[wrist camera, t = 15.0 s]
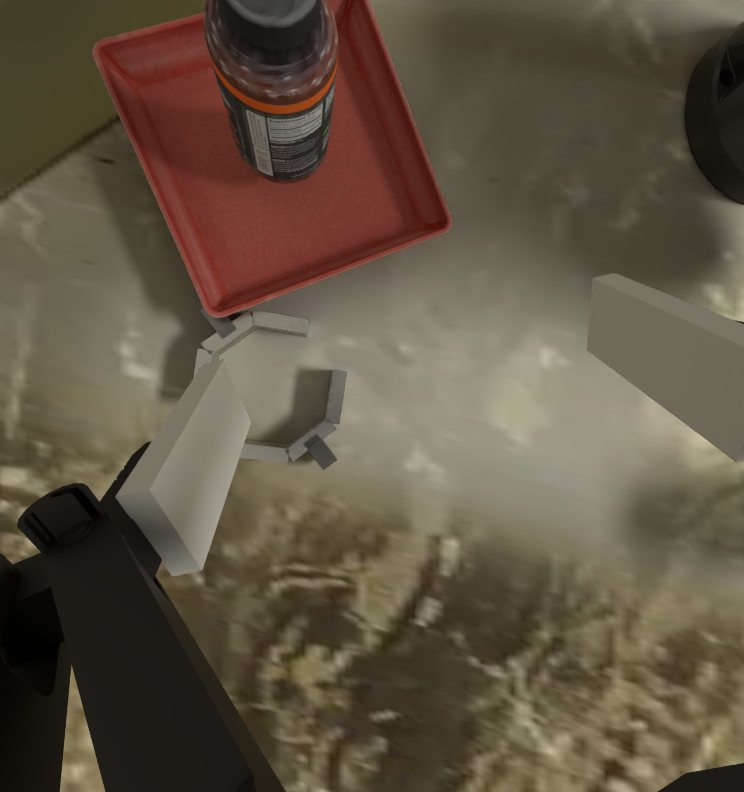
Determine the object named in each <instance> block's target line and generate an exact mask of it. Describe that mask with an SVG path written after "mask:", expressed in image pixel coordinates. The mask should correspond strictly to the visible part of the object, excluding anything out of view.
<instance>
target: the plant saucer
mask: <svg viewBox="0 0 744 792" xmlns="http://www.w3.org/2000/svg"><path fill="white" fill-rule="evenodd" d="M327 1H328V3H329V6H330V8H331V10H332V12H333V15H334V18H335V21H336V26H337V32H338V62H337V72H336V81H335V90H334V100H333V108H332V117H331V126H330V135H329V142H328V147H327V152H326V155H325V158H324V160H323V162H322V164H321V165H320V167H319V168H318V169H317V171H316V172H315V173H314V174H313V175H311V176H310V177H308V178H307V179H305V180H302V181H300V182H296V183H289V184H281V183H275V182H271V181H269V180H267V179H265V178H263V177H261V176H259V175H257V174H256V173H255V172H254V171H252V170H251V169H250V168H249V166H248V165H247V164H246V163H245V162H244V160H243V159H242V157H241V155H240V153H239V151H238V149H237V146H236V144H235V141H234V139H233V136H232V132H231V128H230V124H229V121H228V117H227V114H226V110H225V106H224V103H223V99H222V96H221V93H220V89H219V86H218V83H217V79H216V75H215V72H214V69H213V66H212V61H211V57H210V54H209V51H208V47H207V43H206V39H205V32H204V24H203V18H204V13H201V14H196V15H193V16H190V17H185V18H182V19H178V20H174V21H171V22H165V23H162V24H159V25H155V26H151V27H148V28H143V29H139V30H136V31H133V32H127V33H122V34H119V35H117V36H112V37H108V38H105V39H102V40H100V41H98V42H97V43H96V44H95V46H94V49H93V51H92V55H93V58H94V60H95V63H96V65H97V68H98V70H99V72H100V74H101V76H102V79H103V81H104V83H105V86H106V88H107V90H108V92H109V95H110V97H111V99H112V101H113V103H114V105H115V108H116V110H117V112H118V115H119V117H120V119H121V122H122V124H123V126H124V128H125V131H126V133H127V135H128V137H129V140H130V142H131V144H132V146H133V148H134V151H135V153H136V155H137V157H138V160H139V162H140V165H141V167H142V169H143V171H144V174H145V176H146V178H147V181H148V183H149V185H150V187H151V189H152V192H153V194H154V197H155V199H156V200H157V203H158V205H159V208H160V210H161V212H162V214H163V217H164V219H165V221H166V223H167V225H168V228H169V230H170V233H171V235H172V237H173V239H174V241H175V244H176V246H177V248H178V251H179V253H180V256H181V258H182V260H183V262H184V264H185V266H186V269H187V271H188V274H189V276H190V278H191V280H192V282H193V285H194V287H195V290H196V292H197V294H198V296H199V299H200V302H201V304H202V306H203V308H204V310H205V312H206V313H207V314H208V315H210V316H212V317H214V318H221V317H225V316H228V315H230V314H233V313H236V312H238V311H241V310H244V309H247V308H249V307H252V306H255V305H258V304H261V303H263V302H266V301H268V300H271V299H274V298H276V297H279V296H282V295H285V294H287V293H290V292H293V291H295V290H298V289H301V288H303V287H306V286H309V285H311V284H314V283H317V282H319V281H322V280H324V279H327V278H329V277H332V276H335V275H337V274H340V273H342V272H345V271H348V270H350V269H353V268H356V267H358V266H361V265H364V264H366V263H368V262H371V261H374V260H376V259H379V258H382V257H384V256H387V255H390V254H392V253H395V252H398V251H401V250H403V249H406V248H408V247H411V246H414V245H416V244H419V243H422V242H424V241H427V240H430V239H433V238H435V237H438V236H441V235H443V234H446V233H447V232H449V231H450V229H451V226H452V217H451V214H450V211H449V209H448V206H447V204H446V201H445V199H444V196H443V194H442V191H441V188H440V185H439V183H438V180H437V177H436V175H435V172H434V170H433V167H432V165H431V162H430V160H429V157H428V154H427V152H426V149H425V146H424V143H423V141H422V138H421V135H420V133H419V130H418V127H417V125H416V122H415V120H414V117H413V114H412V111H411V109H410V107H409V104H408V102H407V99H406V96H405V94H404V91H403V88H402V85H401V82H400V80H399V78H398V75H397V72H396V69H395V67H394V64H393V62H392V59H391V57H390V54H389V51H388V48H387V45H386V43H385V40H384V38H383V36H382V33H381V29H380V27H379V25H378V22H377V19H376V16H375V14H374V11H373V8H372V6H371V3H370V1H369V0H327Z"/></svg>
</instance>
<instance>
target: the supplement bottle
mask: <svg viewBox="0 0 744 792" xmlns="http://www.w3.org/2000/svg"><path fill="white" fill-rule="evenodd" d="M203 24H204V32H205V39H206V43H207V47H208V51H209V54H210V57H211V61H212V66H213V69H214V72H215V75H216V79H217V83H218V86H219V89H220V93H221V96H222V99H223V103H224V106H225V110H226V114H227V117H228V121H229V124H230V128H231V132H232V136H233V139H234V141H235V144H236V146H237V149H238V151H239V153H240V155H241V157H242V159H243V160H244V162H245V163H246V164H247V165H248V166H249V168H250V169H251V170H252V171H254V172H255V173H256V174H257V175H259V176H261V177H263V178H265V179H267V180H269V181H271V182H275V183H281V184H289V183H296V182H300V181H302V180H305V179H307V178H308V177H310V176H311V175H313V174H314V173H315V172H316V171H317V169H318V168H319V167H320V165H321V164H322V162H323V160H324V158H325V155H326V152H327V147H328V142H329V135H330V126H331V117H332V108H333V100H334V90H335V81H336V72H337V62H338V32H337V26H336V21H335V18H334V15H333V12H332V10H331V8H330V6H329V3H328V1H327V0H206V3H205V8H204V18H203Z"/></svg>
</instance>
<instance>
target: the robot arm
mask: <svg viewBox="0 0 744 792" xmlns="http://www.w3.org/2000/svg"><path fill="white" fill-rule="evenodd" d="M686 123H687V131H688V136H689V140H690V144H691V147H692V150H693V153H694V155H695V157H696V160H697V161H698V163H699V165H700V167H701V169H702V170H703V172H704V173H705V175H706V176H707V177H708V179H709V180H710V181H711V182H712V183H713V184H714V185H715V186H716V187H717V188H718V189H719V190H720V191H722V192H723V193H724V194H726V195H727V196H729V197H731V198H732V199H734V200H736V201H739V202H741V203H744V22H742V23H741V24H739V25H738V26H737V27H736V28H734V29H733V30H732V31H731V32H729V33H728V34H727V35H726V36H725V37H723V38H722V39H721V40H720V41H718V42H717V43H716V44H715V45H714V46H713V47H711V48H710V49H709V51H708V52H707V53H706V54H705V55H704V57H703V58H702V59H701V61H700V62H699V64H698V66H697V68H696V70H695V72H694V74H693V77H692V79H691V83H690V86H689V90H688V95H687V103H686ZM587 350H588V351H589V352H590V353H592V354H593V355H594V356H596V357H597V358H598V359H600V360H601V361H602V362H604V363H605V364H606V365H608V366H609V367H610V368H612V369H613V370H614V371H616V372H617V373H618V374H620V375H621V376H622V377H624V378H625V379H626V380H628V381H629V382H630V383H632V384H633V385H634V386H636V387H637V388H638V389H640V390H641V391H642V392H644V393H645V394H646V395H648V396H649V397H650V398H652V399H653V400H654V401H656V402H657V403H658V404H660V405H661V406H662V407H664V408H665V409H666V410H668V411H669V412H670V413H672V414H673V415H674V416H676V417H677V418H678V419H680V420H681V421H682V422H684V423H685V424H686V425H688V426H689V427H690V428H692V429H693V430H694V431H696V432H697V433H698V434H700V435H701V436H702V437H704V438H705V439H706V440H708V441H709V442H710V443H712V444H713V445H714V446H716V447H717V448H718V449H720V450H721V451H722V452H724V453H725V454H726V455H728V456H729V457H730V458H732V459H733V460H734V461H736V462H741V461H744V322H740V321H735V320H731V319H729V318H726V317H724V316H721V315H719V314H716V313H714V312H711V311H709V310H706V309H704V308H701V307H699V306H696V305H694V304H691V303H689V302H686V301H684V300H681V299H679V298H676V297H674V296H671V295H669V294H666V293H664V292H661V291H659V290H656V289H654V288H651V287H649V286H646V285H644V284H641V283H639V282H636V281H634V280H631V279H629V278H626V277H624V276H621V275H618V274H616V273H612V274H608V275H603V276H599V277H594V278H592V290H591V303H590V317H589V331H588V344H587ZM250 424H251V421H250V419H249V417H248V414H247V412H246V410H245V407H244V405H243V403H242V400H241V398H240V396H239V393H238V391H237V389H236V386H235V384H234V382H233V380H232V377H231V375H230V373H229V370H228V368H227V366H226V363H225V361H224V359H223V360H219V361H214V362H210V363H205V364H203V365H202V366H201V368H200V369H199V371H198V372H197V374H196V375H195V377H194V378H193V380H192V381H191V383H190V384H189V386H188V387H187V389H186V391H185V392H184V394H183V395H182V397H181V398H180V400H179V401H178V403H177V404H176V406H175V407H174V409H173V410H172V412H171V413H170V415H169V416H168V418H167V419H166V421H165V422H164V424H163V425H162V427H161V428H160V430H159V431H158V433H157V434H156V436H155V437H154V439H153V440H152V442H147V443H146V444H145V445H143V446H142V447H141V448H140V449H139V450H138V451H136V452H135V453H134V454H133V455H132V456H131V458H130V459H129V461H128V462H127V463H126V465H125V466H124V470H122V471H121V472H120V474H119V475H118V476H117V480H115V481H114V482H113V484H112V485H111V486H110V488H109V489H108V491H107V492H106V494H105V495H104V496H103V498H102V499H101V501H100V502H99V501H98V499H97V498H96V497H95V495H94V494H93V493H92V491H91V490H90V489H89V487H88V486H86V485H85V484H83V483H74V484H70V485H67V486H63V487H61V488H58V489H56V490H54V491H52V492H50V493H48V494H46V495H45V496H43V497H42V498H40V499H38V500H37V501H36V502H34V503H33V504H32V505H31V506H30V507H29V508H27V509H26V510H25V511H24V513H23V514H22V515H21V517H20V518H19V520H18V524H17V527H18V528H19V529H20V530H21V531H22V532H23V533H24V534H25V535H26V537H27V538H28V539H29V540H30V541H31V542H32V543H33V544H34V545H35V546H36V547H37V548H38V549H39V550H40V552H41V553H39V554H37V555H34V556H32V557H30V558H27V559H25V560H23V561H20V562H18V563H16V564H12V563H11V562H10V561H9V560H8V559H6V558H5V557H4V556H3V555H2V554H0V792H60V782H61V771H62V761H63V750H64V739H65V728H66V717H67V706H68V695H69V684H70V674H71V664H72V667H73V671H74V675H75V679H76V683H77V686H78V690H79V694H80V698H81V701H82V705H83V709H84V713H85V716H86V720H87V724H88V728H89V731H90V735H91V739H92V743H93V746H94V750H95V754H96V758H97V761H98V765H99V769H100V773H101V777H102V780H103V784H104V788H105V792H286V791H285V790H284V788H283V786H282V785H281V783H280V781H279V780H278V778H277V776H276V775H275V773H274V771H273V770H272V768H271V766H270V765H269V763H268V761H267V760H266V758H265V756H264V755H263V753H262V751H261V750H260V748H259V746H258V745H257V743H256V741H255V740H254V738H253V736H252V735H251V733H250V731H249V730H248V728H247V726H246V725H245V723H244V721H243V720H242V718H241V716H240V715H239V713H238V711H237V710H236V708H235V706H234V705H233V703H232V701H231V700H230V698H229V696H228V695H227V693H226V691H225V690H224V688H223V686H222V685H221V683H220V681H219V680H218V678H217V676H216V674H215V673H214V671H213V669H212V668H211V666H210V664H209V663H208V661H207V659H206V658H205V656H204V654H203V653H202V651H201V649H200V648H199V646H198V644H197V643H196V641H195V639H194V638H193V636H192V634H191V633H190V631H189V629H188V628H187V626H186V624H185V623H184V621H183V619H182V618H181V616H180V614H179V613H178V611H177V609H176V608H175V606H174V604H173V603H172V601H171V599H170V598H169V596H168V594H167V593H166V591H165V589H164V588H163V586H162V584H161V583H160V582H159V580H158V579H157V578H156V576H155V575H156V573H157V570H158V568H159V566H160V564H161V561H162V563H163V564H164V565H165V567H166V568H167V570H168V571H169V572H170V574H171V575H172V576H177V575H182V574H187V573H192V572H197V571H202V569H203V566H204V563H205V560H206V557H207V554H208V551H209V548H210V545H211V542H212V539H213V536H214V533H215V530H216V527H217V524H218V521H219V518H220V515H221V512H222V509H223V506H224V503H225V499H226V496H227V493H228V490H229V487H230V484H231V481H232V478H233V475H234V472H235V469H236V466H237V463H238V460H239V457H240V454H241V451H242V448H243V445H244V442H245V439H246V436H247V433H248V430H249V427H250ZM658 792H744V763H741V764H736V765H730V766H724V767H719V768H713V769H707V770H702V771H696V772H690V773H686V774H684V775H683V776H681V777H679V778H678V779H676V780H675V781H673V782H672V783H670V784H669V785H667V786H666V787H664V788H663V789H661V790H660V791H658Z"/></svg>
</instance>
